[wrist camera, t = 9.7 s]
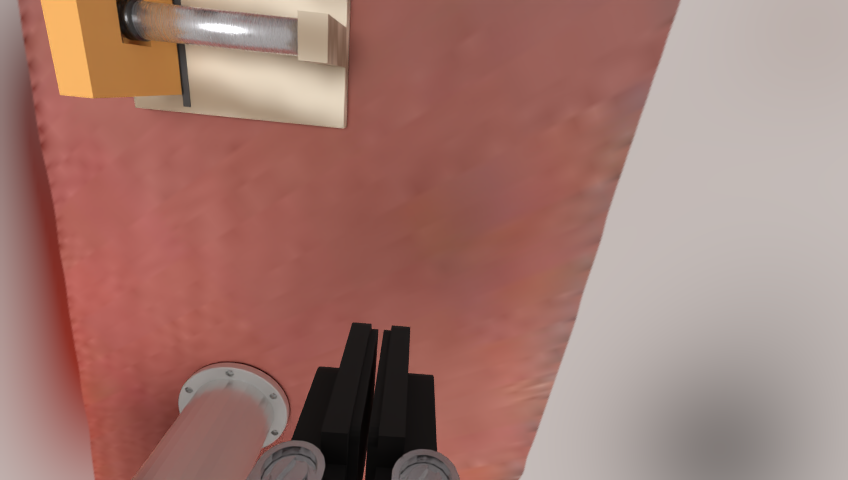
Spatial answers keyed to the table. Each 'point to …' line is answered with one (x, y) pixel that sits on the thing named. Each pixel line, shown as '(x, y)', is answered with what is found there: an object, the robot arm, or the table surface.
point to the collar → (106, 53)
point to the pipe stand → (268, 69)
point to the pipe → (207, 27)
